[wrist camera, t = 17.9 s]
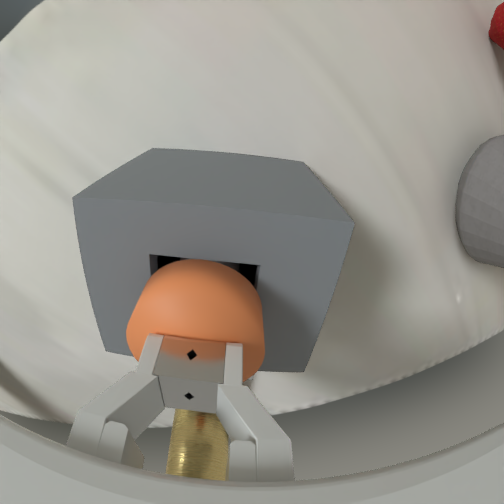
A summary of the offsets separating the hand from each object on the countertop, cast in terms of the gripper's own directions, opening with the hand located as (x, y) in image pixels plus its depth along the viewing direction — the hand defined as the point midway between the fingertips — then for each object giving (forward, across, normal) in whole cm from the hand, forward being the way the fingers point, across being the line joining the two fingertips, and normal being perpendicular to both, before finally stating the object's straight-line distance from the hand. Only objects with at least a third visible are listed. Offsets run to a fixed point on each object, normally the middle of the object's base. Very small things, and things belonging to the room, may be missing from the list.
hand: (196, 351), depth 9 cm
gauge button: (+11, 0, 0) cm, 11 cm away
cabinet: (+12, 0, 0) cm, 13 cm away
